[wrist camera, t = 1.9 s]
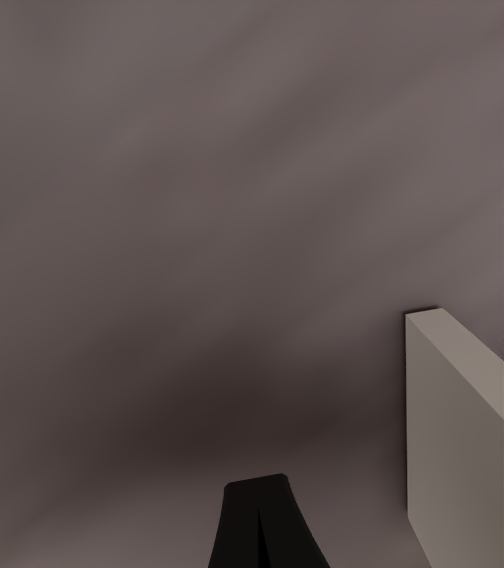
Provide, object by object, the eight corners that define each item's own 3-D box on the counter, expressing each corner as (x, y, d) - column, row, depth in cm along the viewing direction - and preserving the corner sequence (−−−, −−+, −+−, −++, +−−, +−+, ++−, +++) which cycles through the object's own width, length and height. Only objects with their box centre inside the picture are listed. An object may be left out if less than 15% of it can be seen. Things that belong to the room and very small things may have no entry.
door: (443, 307, 11) (598, 444, 7) (437, 512, 14) (544, 704, 10) (405, 314, 11) (537, 455, 7) (407, 517, 14) (500, 712, 10)
